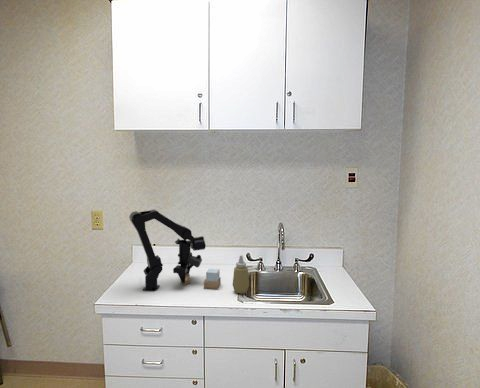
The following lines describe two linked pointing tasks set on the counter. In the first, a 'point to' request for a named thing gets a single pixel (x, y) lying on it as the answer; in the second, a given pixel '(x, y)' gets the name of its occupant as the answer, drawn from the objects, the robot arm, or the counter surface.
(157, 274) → the robot arm
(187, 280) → the tan wooden cylinder
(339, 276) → the counter surface
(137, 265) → the counter surface
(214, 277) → the blue-grey square block
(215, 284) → the walnut base block
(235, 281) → the squeeze bottle
